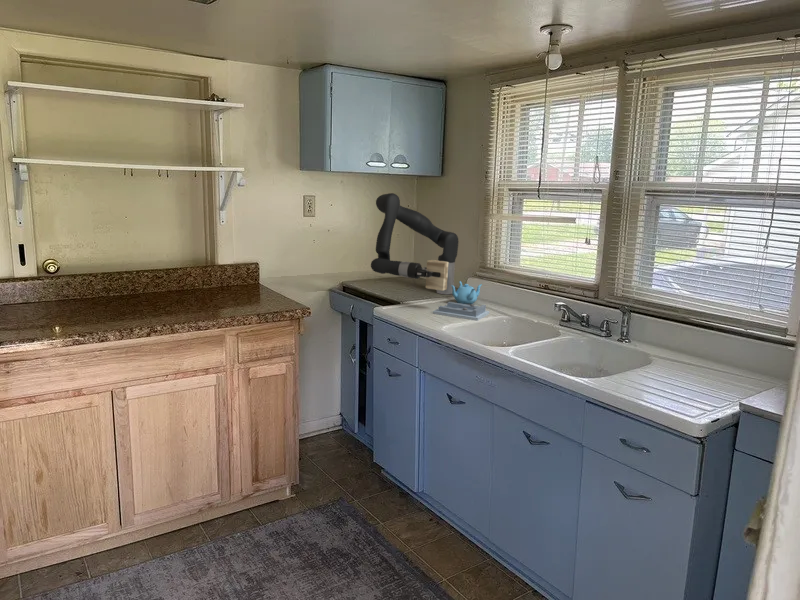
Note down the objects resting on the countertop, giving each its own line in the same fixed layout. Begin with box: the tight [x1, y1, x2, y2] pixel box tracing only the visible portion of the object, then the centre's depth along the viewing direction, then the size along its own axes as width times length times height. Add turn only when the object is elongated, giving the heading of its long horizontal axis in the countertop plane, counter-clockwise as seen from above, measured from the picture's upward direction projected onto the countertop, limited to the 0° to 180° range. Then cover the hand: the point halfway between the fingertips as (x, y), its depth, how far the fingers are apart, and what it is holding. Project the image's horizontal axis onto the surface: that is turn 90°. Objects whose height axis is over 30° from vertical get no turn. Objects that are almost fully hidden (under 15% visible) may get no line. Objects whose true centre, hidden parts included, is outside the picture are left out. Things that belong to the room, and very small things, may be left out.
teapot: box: [451, 280, 483, 305], centre depth 296 cm, size 13×13×10 cm
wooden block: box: [425, 259, 449, 291], centre depth 277 cm, size 4×9×13 cm, turn 62°
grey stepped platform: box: [432, 301, 490, 322], centre depth 276 cm, size 16×22×4 cm
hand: (442, 274), depth 276 cm, fingers closed on wooden block, 4 cm apart
